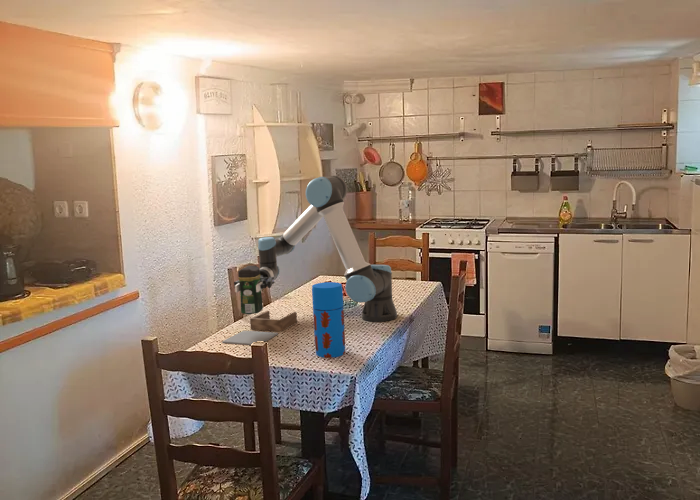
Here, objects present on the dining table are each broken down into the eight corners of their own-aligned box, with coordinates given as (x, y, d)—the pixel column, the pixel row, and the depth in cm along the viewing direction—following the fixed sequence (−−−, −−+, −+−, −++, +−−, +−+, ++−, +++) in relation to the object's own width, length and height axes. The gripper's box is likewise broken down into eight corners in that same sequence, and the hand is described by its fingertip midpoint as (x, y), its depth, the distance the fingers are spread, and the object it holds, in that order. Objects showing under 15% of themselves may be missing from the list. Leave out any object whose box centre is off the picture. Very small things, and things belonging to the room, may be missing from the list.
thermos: (341, 358, 235) (338, 288, 231) (312, 357, 237) (308, 288, 234) (348, 349, 246) (344, 281, 242) (319, 348, 248) (316, 282, 244)
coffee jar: (246, 309, 274) (243, 264, 272) (265, 309, 273) (262, 264, 270) (238, 315, 265) (234, 268, 262) (257, 315, 263) (254, 268, 261)
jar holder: (297, 322, 287) (296, 312, 286) (281, 331, 274) (280, 320, 273) (267, 320, 292) (266, 310, 292) (250, 329, 279) (250, 318, 279)
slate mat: (278, 334, 270) (278, 332, 270) (258, 345, 255) (258, 344, 255) (243, 331, 276) (243, 330, 276) (222, 342, 261) (222, 341, 261)
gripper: (286, 285, 284) (272, 297, 262) (239, 286, 287) (221, 298, 265) (285, 268, 283) (271, 279, 260) (238, 269, 286) (220, 279, 264)
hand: (246, 288), depth 263 cm, fingers closed on coffee jar, 8 cm apart
